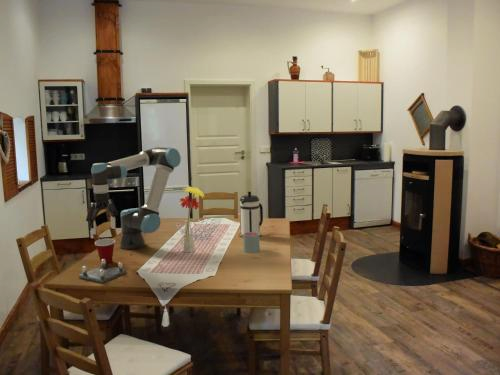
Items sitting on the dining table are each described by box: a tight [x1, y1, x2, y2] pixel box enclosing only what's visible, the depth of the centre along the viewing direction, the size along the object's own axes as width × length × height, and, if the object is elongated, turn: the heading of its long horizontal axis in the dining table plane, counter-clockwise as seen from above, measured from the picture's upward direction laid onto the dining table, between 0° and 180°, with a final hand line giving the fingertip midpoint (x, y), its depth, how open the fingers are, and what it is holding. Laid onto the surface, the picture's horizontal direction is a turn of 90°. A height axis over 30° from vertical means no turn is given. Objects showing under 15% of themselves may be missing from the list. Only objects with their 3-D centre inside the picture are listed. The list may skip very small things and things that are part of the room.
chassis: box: [78, 259, 128, 284], centre depth 211 cm, size 16×16×6 cm
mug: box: [242, 232, 261, 254], centre depth 248 cm, size 14×9×10 cm
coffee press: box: [238, 191, 264, 238], centre depth 277 cm, size 17×16×30 cm
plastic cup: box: [94, 237, 116, 265], centre depth 230 cm, size 11×11×12 cm
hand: (103, 231), depth 228 cm, fingers open, 13 cm apart
